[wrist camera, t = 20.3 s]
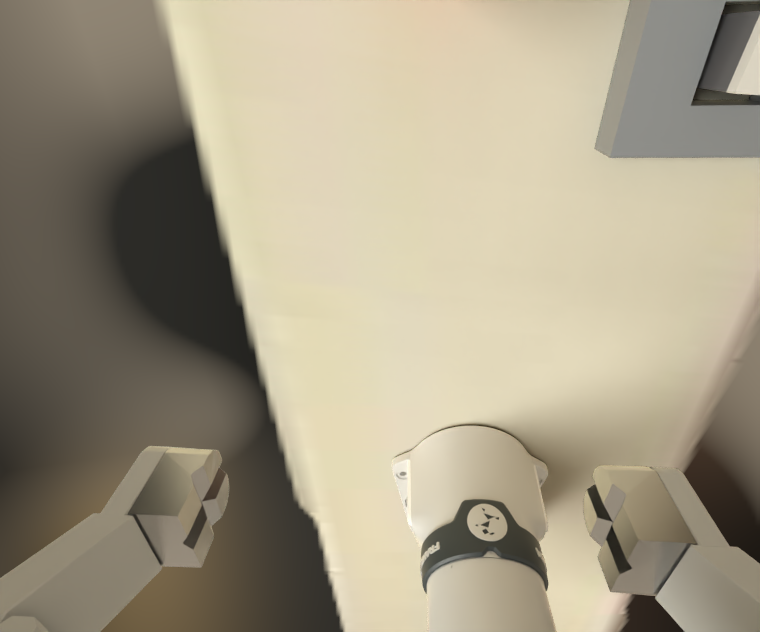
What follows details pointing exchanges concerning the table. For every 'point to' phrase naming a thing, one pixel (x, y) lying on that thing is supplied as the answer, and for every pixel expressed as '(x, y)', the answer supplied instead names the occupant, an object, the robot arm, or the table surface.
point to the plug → (734, 55)
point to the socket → (672, 88)
